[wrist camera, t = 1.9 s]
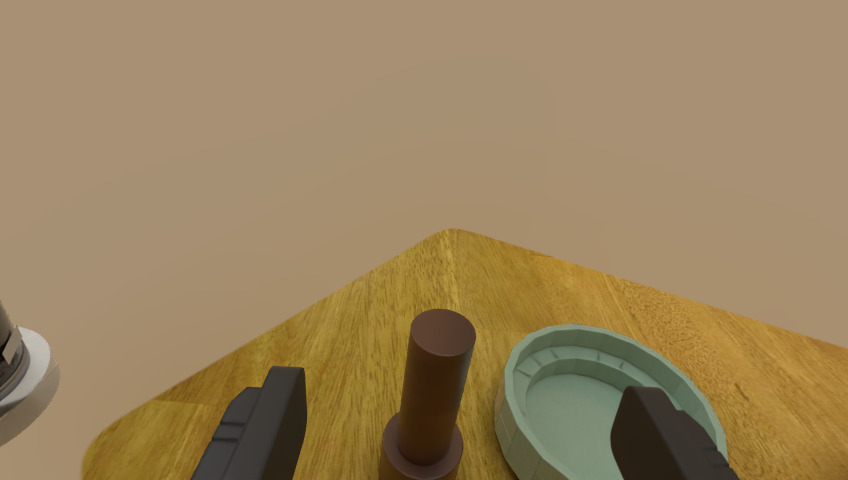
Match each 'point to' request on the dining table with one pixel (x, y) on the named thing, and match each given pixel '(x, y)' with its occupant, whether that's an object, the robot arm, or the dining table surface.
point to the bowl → (581, 400)
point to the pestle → (430, 400)
